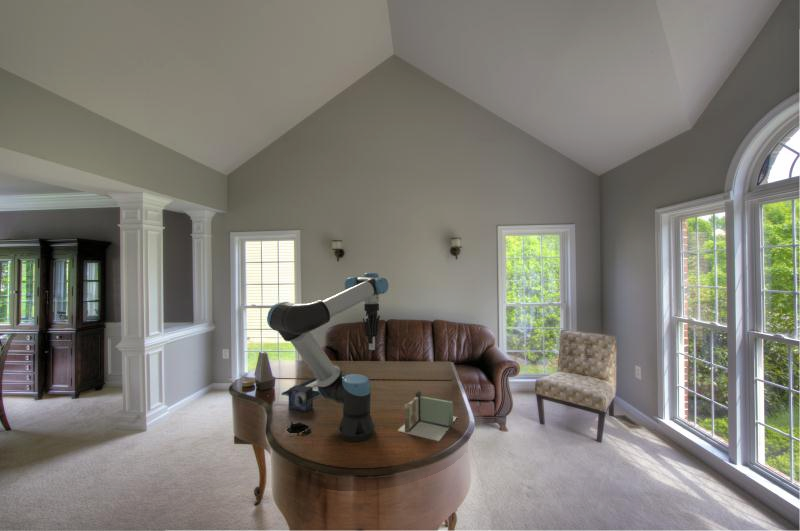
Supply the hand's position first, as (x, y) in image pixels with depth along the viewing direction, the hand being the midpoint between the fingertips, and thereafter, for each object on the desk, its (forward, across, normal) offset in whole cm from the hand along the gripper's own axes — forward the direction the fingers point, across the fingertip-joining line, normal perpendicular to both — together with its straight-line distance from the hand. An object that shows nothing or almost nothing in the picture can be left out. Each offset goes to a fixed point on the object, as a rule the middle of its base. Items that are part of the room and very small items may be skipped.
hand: (371, 349), depth 166 cm
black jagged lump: (+30, -36, +17) cm, 50 cm away
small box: (+30, -17, +32) cm, 47 cm away
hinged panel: (+28, -3, -36) cm, 46 cm away
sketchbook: (+30, +8, +46) cm, 56 cm away
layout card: (+29, -4, -32) cm, 44 cm away
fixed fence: (+29, -9, -27) cm, 41 cm away
